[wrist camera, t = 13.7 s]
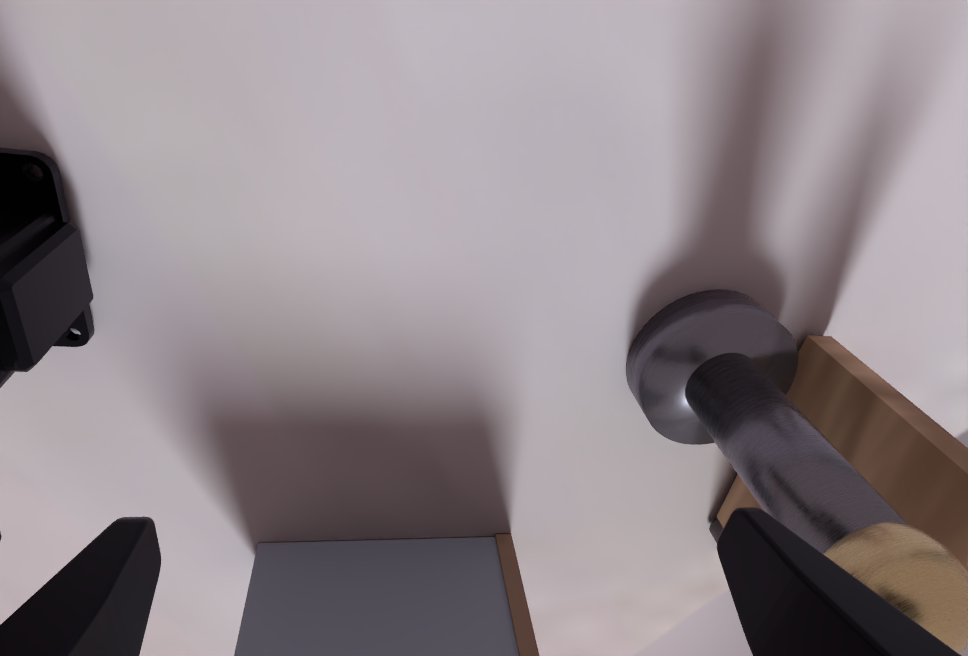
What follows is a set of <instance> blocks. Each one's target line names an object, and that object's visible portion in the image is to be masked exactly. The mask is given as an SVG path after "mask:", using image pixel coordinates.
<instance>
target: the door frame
mask: <svg viewBox="0 0 968 656" xmlns="http://www.w3.org/2000/svg"><path fill="white" fill-rule="evenodd" d="M717 551H718V550H717ZM234 656H539V653H538V648H537V644H536V640H535V635H534V631H533V627H532V622H531V618H530V614H529V609H528V605H527V601H526V596H525V592H524V588H523V583H522V579H521V575H520V570H519V566H518V562H517V557H516V553H515V549H514V544H513V540H512V536H511V534H495V537H474V538H436V539H398V540H360V541H322V542H284V543H258V546H257V551H256V555H255V560H254V565H253V569H252V574H251V579H250V584H249V588H248V593H247V598H246V602H245V607H244V612H243V617H242V621H241V626H240V631H239V635H238V640H237V645H236V649H235V654H234Z"/></svg>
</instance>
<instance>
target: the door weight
mask: <svg viewBox="0 0 968 656" xmlns="http://www.w3.org/2000/svg"><path fill="white" fill-rule="evenodd" d="M797 367H798V350H797V346H796V343H795V340H794V339H793V337H792V335H791V334H790V332H789V331H788V330H787V329H786V328H785V327H784V326H783V325H782V324H780V323H779V322H778V321H777V320H776V319H775V318H774V317H773V316H771V315H770V314H769V313H768V312H767V311H766V310H765V309H764V308H762V307H761V306H760V305H759V304H758V303H757V302H755V301H754V300H753V299H752V298H750V297H748V296H746V295H744V294H741V293H739V292H735V291H730V290H708V291H702V292H698V293H694V294H691V295H688V296H686V297H683V298H681V299H679V300H677V301H675V302H673V303H671V304H670V305H668V306H667V307H665V308H664V309H662V310H661V311H659V312H658V313H657V314H656V315H655V316H654V317H652V318H651V319H650V320H649V322H648V323H647V324H646V325H645V326H644V327H643V328H642V330H641V331H640V332H639V334H638V335H637V337H636V339H635V340H634V342H633V344H632V346H631V349H630V351H629V355H628V358H627V364H626V376H627V382H628V385H629V388H630V390H631V392H632V393H633V395H634V397H635V398H636V400H637V402H638V404H639V405H640V407H641V409H642V410H643V412H644V414H645V415H646V417H647V419H648V420H649V422H650V424H651V425H652V426H653V428H654V429H655V430H656V431H657V432H658V433H660V434H661V435H662V436H664V437H666V438H668V439H670V440H673V441H675V442H679V443H683V444H709V443H714V442H715V443H716V444H717V445H718V447H719V448H720V450H721V451H722V453H723V454H724V455H725V457H726V458H727V460H728V461H729V462H730V464H731V465H732V467H733V468H734V470H735V471H736V472H737V474H738V475H739V477H740V478H741V479H742V481H743V482H744V484H745V485H746V487H747V488H748V489H749V491H750V492H751V494H752V495H753V496H754V498H755V499H756V501H757V502H758V504H759V505H760V506H761V508H762V509H763V510H764V511H765V512H767V513H768V514H769V515H771V516H772V517H773V518H775V519H776V520H778V521H779V522H780V523H782V524H783V525H784V526H786V527H787V528H788V529H790V530H791V531H792V532H794V533H795V534H797V535H798V536H799V537H801V538H802V539H803V540H805V541H806V542H807V543H809V544H810V545H812V546H813V547H814V548H816V549H817V550H818V551H820V552H821V553H822V554H824V555H825V556H826V557H828V558H829V559H831V560H832V561H833V562H835V563H836V564H837V565H839V566H840V567H841V568H843V569H844V570H846V571H847V572H848V573H850V574H851V575H852V576H854V577H855V578H856V579H858V580H859V581H861V582H862V583H863V584H865V585H866V586H867V587H869V588H870V589H871V590H873V591H874V592H875V593H877V594H878V595H880V596H881V597H882V598H884V599H885V600H886V601H888V602H889V603H890V604H892V605H893V606H895V607H896V608H897V609H899V610H900V611H901V612H903V613H904V614H905V615H907V616H908V617H909V618H911V619H912V620H914V621H915V622H916V623H918V624H919V625H920V626H922V627H923V628H924V629H926V630H927V631H929V632H930V633H931V634H933V635H934V636H935V637H937V638H938V639H939V640H941V641H942V642H943V643H945V644H946V645H948V646H949V647H950V648H952V649H953V650H954V651H956V652H957V653H958V654H959V653H961V652H962V651H963V650H964V649H965V647H966V646H967V645H968V573H967V571H966V570H965V568H964V567H963V565H962V564H961V562H960V561H959V560H958V559H957V558H956V557H955V556H954V554H953V553H952V552H951V551H950V550H949V549H948V548H947V547H945V546H944V545H943V544H942V543H941V542H939V541H938V540H936V539H935V538H934V537H932V536H931V535H929V534H927V533H925V532H924V531H922V530H920V529H917V528H915V527H912V526H910V525H908V523H907V522H906V521H905V520H904V519H903V518H902V517H901V516H900V515H899V514H898V513H897V512H896V511H895V510H894V509H893V508H892V507H891V506H890V505H889V503H888V502H887V501H886V500H885V499H884V498H883V497H882V496H881V495H880V494H879V493H878V492H877V491H876V490H875V489H874V488H873V487H872V486H871V485H870V483H869V482H868V481H867V480H866V479H865V478H864V477H863V476H862V475H861V474H860V473H859V472H858V471H857V470H856V469H855V468H854V467H853V466H852V465H851V463H850V462H849V461H848V460H847V459H846V458H845V457H844V456H843V455H842V454H841V453H840V452H839V451H838V450H837V449H836V448H835V447H834V446H833V445H832V443H831V442H830V441H829V440H828V439H827V438H826V437H825V436H824V435H823V434H822V433H821V432H820V431H819V430H818V429H817V428H816V427H815V426H814V425H813V423H812V422H811V421H810V420H809V419H808V418H807V417H806V416H805V415H804V414H803V413H802V412H801V411H800V410H799V409H798V408H797V407H796V406H795V405H794V403H793V402H792V401H791V400H790V399H789V398H788V397H787V396H786V394H787V392H788V391H789V389H790V387H791V385H792V383H793V381H794V378H795V375H796V372H797Z"/></svg>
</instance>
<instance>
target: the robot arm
mask: <svg viewBox="0 0 968 656" xmlns="http://www.w3.org/2000/svg"><path fill="white" fill-rule="evenodd" d="M30 164H34V165H36V166H38V167H39V168H40V169H41V171H42V172H43V177H39V176H36V175H35V174H34V173H33V172H32V171H31V169H30ZM92 300H93V293H92V288H91V284H90V279H89V274H88V270H87V265H86V261H85V256H84V251H83V247H82V242H81V238H80V233H79V230H78V229H77V228H76V227H75V226H74V225H73V224H72V223H71V222H70V218H69V214H68V209H67V205H66V200H65V196H64V191H63V187H62V182H61V178H60V173H59V170H58V167H57V165H56V163H55V162H54V161H53V160H52V159H51V158H50V157H48V156H47V155H45V154H43V153H40V152H36V151H26V150H15V149H5V148H0V388H1V387H2V385H3V384H4V383H5V382H6V381H7V380H8V379H9V378H10V377H11V375H12V374H13V373H14V372H28V371H29V370H31V369H32V368H33V367H34V366H35V365H36V364H37V363H38V362H39V361H40V360H41V359H42V357H43V356H44V355H45V354H46V353H47V352H48V350H49V349H50V348H51V347H52V346H66V347H79V346H83V345H85V344H87V342H88V341H89V340H90V339H91V337H92V336H93V334H94V326H93V321H92V317H91V312H90V308H89V303H90V302H91V301H92ZM70 328H74V329H77V330H78V331H79V332H80V333H81V334H80V335H79V334H75V333H73V332H72V331H71V330H70ZM1 537H2V536H1V533H0V540H1ZM717 550H718V555H719V558H720V561H721V564H722V567H723V570H724V574H725V577H726V580H727V583H728V586H729V589H730V592H731V595H732V598H733V601H734V604H735V607H736V610H737V613H738V616H739V619H740V622H741V625H742V628H743V631H744V633H745V636H746V639H747V642H748V644H749V647H750V649H751V652H752V654H753V656H961V655H959V654H958V653H957V652H956V651H954V650H953V649H952V648H950V647H949V646H948V645H946V644H945V643H943V642H942V641H941V640H939V639H938V638H937V637H935V636H934V635H933V634H931V633H930V632H929V631H927V630H926V629H924V628H923V627H922V626H920V625H919V624H918V623H916V622H915V621H914V620H912V619H911V618H909V617H908V616H907V615H905V614H904V613H903V612H901V611H900V610H899V609H897V608H896V607H895V606H893V605H892V604H890V603H889V602H888V601H886V600H885V599H884V598H882V597H881V596H880V595H878V594H877V593H875V592H874V591H873V590H871V589H870V588H869V587H867V586H866V585H865V584H863V583H862V582H861V581H859V580H858V579H856V578H855V577H854V576H852V575H851V574H850V573H848V572H847V571H846V570H844V569H843V568H841V567H840V566H839V565H837V564H836V563H835V562H833V561H832V560H831V559H829V558H828V557H826V556H825V555H824V554H822V553H821V552H820V551H818V550H817V549H816V548H814V547H813V546H812V545H810V544H809V543H807V542H806V541H805V540H803V539H802V538H801V537H799V536H798V535H797V534H795V533H794V532H792V531H791V530H790V529H788V528H787V527H786V526H784V525H783V524H782V523H780V522H779V521H778V520H776V519H775V518H773V517H772V516H771V515H769V514H768V513H767V512H765V511H764V510H762V509H760V508H756V507H743V508H736V509H735V510H733V511H732V513H731V515H730V517H729V519H728V520H727V522H726V524H725V526H724V528H723V530H722V532H721V534H720V536H719V538H718V542H717ZM160 567H161V553H160V548H159V543H158V538H157V533H156V528H155V524H154V521H153V520H152V519H151V518H150V517H123V518H119V519H117V520H116V521H114V522H113V523H112V524H111V525H110V526H109V527H107V528H106V529H105V530H104V531H103V532H102V533H101V534H100V535H99V536H98V537H96V538H95V539H94V540H93V541H92V542H91V543H90V544H89V545H88V546H87V547H85V548H84V549H83V550H82V551H81V552H80V553H79V554H78V555H77V556H76V557H74V558H73V559H72V560H71V561H70V562H69V563H68V564H67V565H66V566H65V567H64V568H62V569H61V570H60V571H59V572H58V573H57V574H56V575H55V576H54V577H53V578H51V579H50V580H49V581H48V582H47V583H46V584H45V585H44V586H43V587H42V588H40V589H39V590H38V591H37V592H36V593H35V594H34V595H33V596H32V597H31V598H29V599H28V600H27V601H26V602H25V603H24V604H23V605H22V606H21V607H20V608H19V609H17V610H16V611H15V612H14V613H13V614H12V615H11V616H10V617H9V618H8V619H6V620H5V621H4V622H3V623H2V624H1V625H0V656H139V654H140V650H141V646H142V642H143V638H144V634H145V630H146V626H147V622H148V617H149V613H150V609H151V605H152V601H153V597H154V593H155V589H156V585H157V581H158V577H159V573H160Z"/></svg>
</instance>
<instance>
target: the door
mask: <svg viewBox="0 0 968 656" xmlns="http://www.w3.org/2000/svg"><path fill="white" fill-rule="evenodd" d="M786 396H787V397H788V398H789V399H790V400H791V401H792V402H793V403H794V405H795V406H796V407H797V408H798V409H799V410H800V411H801V412H802V413H803V414H804V415H805V416H806V417H807V418H808V419H809V420H810V421H811V422H812V423H813V425H814V426H815V427H816V428H817V429H818V430H819V431H820V432H821V433H822V434H823V435H824V436H825V437H826V438H827V439H828V440H829V441H830V442H831V443H832V445H833V446H834V447H835V448H836V449H837V450H838V451H839V452H840V453H841V454H842V455H843V456H844V457H845V458H846V459H847V460H848V461H849V462H850V463H851V465H852V466H853V467H854V468H855V469H856V470H857V471H858V472H859V473H860V474H861V475H862V476H863V477H864V478H865V479H866V480H867V481H868V482H869V483H870V485H871V486H872V487H873V488H874V489H875V490H876V491H877V492H878V493H879V494H880V495H881V496H882V497H883V498H884V499H885V500H886V501H887V502H888V503H889V505H890V506H891V507H892V508H893V509H894V510H895V511H896V512H897V513H898V514H899V515H900V516H901V517H902V518H903V519H904V520H905V521H906V522H907V523H908V525H910V526H912V527H915V528H917V529H920V530H922V531H924V532H925V533H927V534H929V535H931V536H932V537H934V538H935V539H936V540H938V541H939V542H941V543H942V544H943V545H944V546H945V547H947V548H948V549H949V550H950V551H951V552H952V553H953V554H954V556H955V557H956V558H957V559H958V560H959V561H960V562H961V564H962V565H963V567H964V568H965V570H966V571H967V573H968V448H967V447H965V446H964V445H963V444H962V443H961V442H959V441H958V440H957V439H956V438H955V437H953V436H952V435H951V434H950V433H948V432H947V431H946V430H945V429H944V428H942V427H941V426H940V425H939V424H937V423H936V422H935V421H934V420H933V419H931V418H930V417H929V416H928V415H926V414H925V413H924V412H923V411H922V410H920V409H919V408H918V407H917V406H915V405H914V404H913V403H912V402H911V401H909V400H908V399H907V398H906V397H904V396H903V395H902V394H901V393H900V392H898V391H897V390H896V389H895V388H893V387H892V386H891V385H890V384H889V383H887V382H886V381H885V380H884V379H882V378H881V377H880V376H879V375H878V374H876V373H875V372H874V371H873V370H871V369H870V368H869V367H868V366H867V365H865V364H864V363H863V362H862V361H861V360H859V359H858V358H857V357H856V356H854V355H853V354H852V353H851V352H850V351H848V350H847V349H846V348H845V347H843V346H842V345H841V344H840V343H839V342H837V341H836V340H835V339H834V338H832V337H831V336H812V335H807V336H806V338H805V340H804V342H803V344H802V346H801V348H800V350H799V352H798V367H797V372H796V375H795V378H794V381H793V383H792V385H791V387H790V389H789V391H788V392H787V394H786ZM743 507H756V508H760V509H762V508H761V506H760V505H759V504H758V502H757V501H756V499H755V498H754V496H753V495H752V494H751V492H750V491H749V489H748V488H747V487H746V485H745V484H744V482H743V481H742V479H741V478H740V477H739V475H737V477H736V479H735V481H734V483H733V485H732V487H731V489H730V491H729V493H728V495H727V497H726V499H725V501H724V503H723V505H722V507H721V509H720V511H719V513H718V515H717V518H718V519H717V520H715V521H714V522H713V523H712V524H711V525H710V528H709V530H710V532H711V534H712V536H713V537H714V539H715V541H716V542H718V538H719V536H720V534H721V532H722V530H723V528H724V526H725V524H726V522H727V520H728V519H729V517H730V515H731V513H732V511H733V510H735V509H736V508H743ZM762 510H763V509H762Z"/></svg>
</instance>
